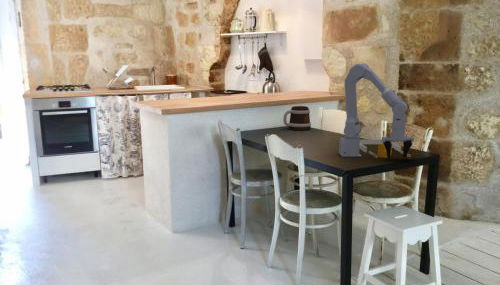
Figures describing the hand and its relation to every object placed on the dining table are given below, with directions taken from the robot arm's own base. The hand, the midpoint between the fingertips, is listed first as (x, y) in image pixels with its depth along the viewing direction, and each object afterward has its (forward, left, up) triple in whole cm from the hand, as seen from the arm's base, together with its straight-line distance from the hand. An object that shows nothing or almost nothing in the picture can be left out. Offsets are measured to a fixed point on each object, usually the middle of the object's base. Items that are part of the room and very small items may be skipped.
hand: (396, 156), depth 201 cm
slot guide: (0, +9, -1) cm, 9 cm away
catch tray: (0, +27, -1) cm, 27 cm away
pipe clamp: (-1, +10, -2) cm, 10 cm away
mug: (-32, +90, -2) cm, 95 cm away
